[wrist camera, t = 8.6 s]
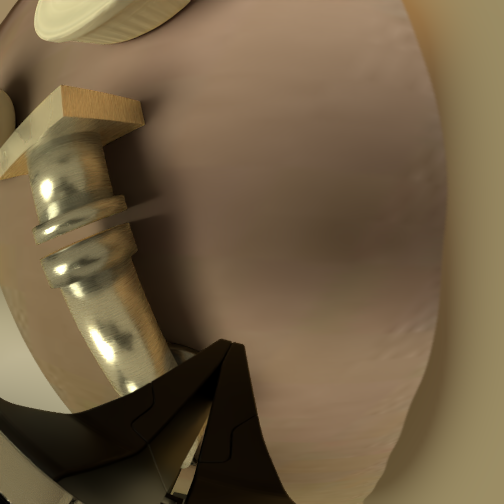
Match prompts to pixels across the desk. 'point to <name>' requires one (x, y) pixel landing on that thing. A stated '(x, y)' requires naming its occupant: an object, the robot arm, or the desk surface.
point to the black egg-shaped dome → (6, 117)
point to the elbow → (113, 310)
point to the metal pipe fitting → (72, 162)
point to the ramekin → (101, 19)
